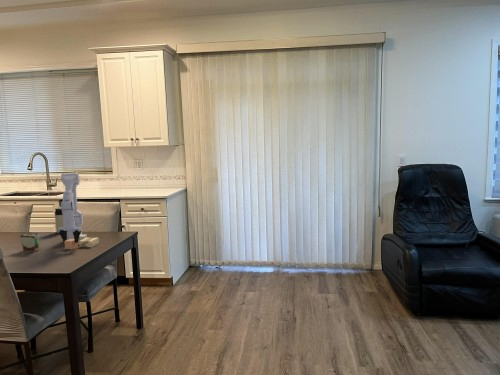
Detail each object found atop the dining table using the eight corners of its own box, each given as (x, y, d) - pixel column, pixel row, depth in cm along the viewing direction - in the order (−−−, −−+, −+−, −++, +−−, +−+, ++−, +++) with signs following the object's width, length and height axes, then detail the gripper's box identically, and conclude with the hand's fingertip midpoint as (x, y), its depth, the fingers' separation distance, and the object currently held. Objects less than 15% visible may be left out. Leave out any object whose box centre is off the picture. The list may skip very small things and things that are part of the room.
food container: (45, 249, 221) (44, 233, 219) (37, 252, 215) (35, 235, 213) (30, 247, 225) (28, 231, 223) (21, 250, 219) (19, 234, 217)
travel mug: (56, 234, 256) (54, 208, 254) (56, 231, 263) (54, 207, 261) (69, 232, 260) (66, 207, 257) (68, 230, 267) (66, 205, 264)
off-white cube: (76, 244, 229) (75, 236, 228) (79, 242, 234) (78, 234, 233) (84, 244, 229) (83, 236, 229) (87, 241, 234) (86, 234, 234)
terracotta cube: (65, 249, 220) (64, 241, 219) (70, 246, 225) (69, 238, 224) (72, 249, 219) (71, 241, 218) (77, 246, 224) (77, 238, 223)
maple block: (79, 247, 223) (79, 241, 222) (87, 243, 231) (86, 237, 230) (91, 247, 222) (91, 241, 221) (98, 243, 230) (98, 237, 229)
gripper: (53, 221, 217) (55, 244, 219) (75, 222, 214) (77, 244, 216) (61, 219, 224) (63, 240, 226) (82, 219, 221) (84, 241, 223)
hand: (71, 242), depth 221 cm, fingers open, 7 cm apart
